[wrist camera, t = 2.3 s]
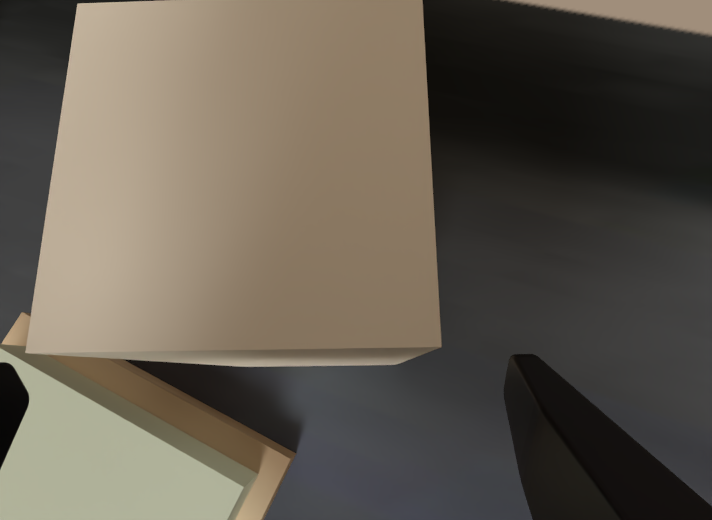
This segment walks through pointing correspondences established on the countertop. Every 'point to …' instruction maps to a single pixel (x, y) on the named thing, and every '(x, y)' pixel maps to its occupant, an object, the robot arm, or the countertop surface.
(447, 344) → the countertop surface
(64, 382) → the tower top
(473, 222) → the countertop surface
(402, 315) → the pillar block
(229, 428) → the tower base
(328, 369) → the countertop surface
